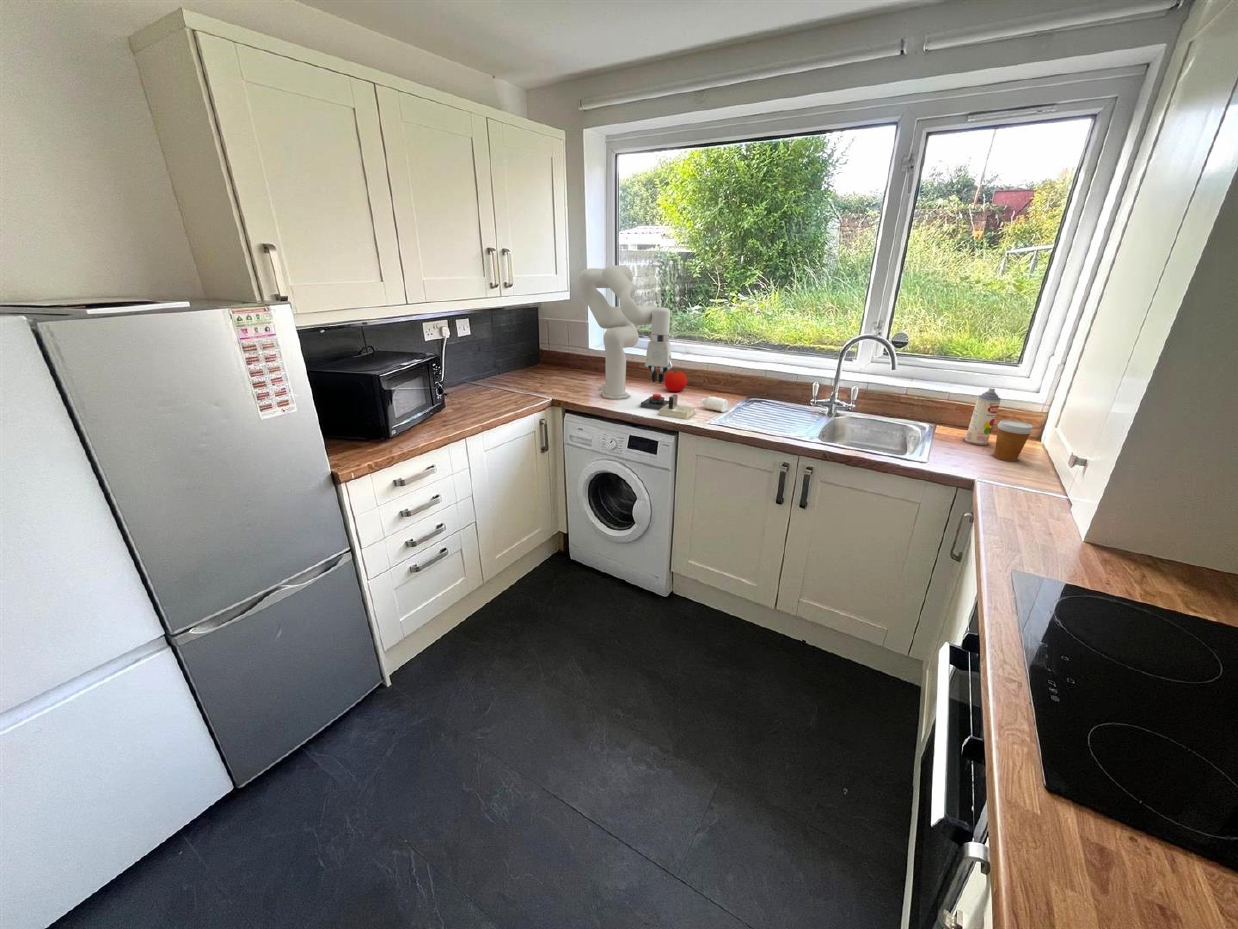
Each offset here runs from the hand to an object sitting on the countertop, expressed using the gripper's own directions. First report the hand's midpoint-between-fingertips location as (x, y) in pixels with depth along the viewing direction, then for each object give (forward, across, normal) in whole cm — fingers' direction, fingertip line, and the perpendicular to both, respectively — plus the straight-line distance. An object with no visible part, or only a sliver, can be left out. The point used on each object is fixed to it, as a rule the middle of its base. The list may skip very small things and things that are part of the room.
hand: (657, 381), depth 215 cm
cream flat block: (+11, +12, -7) cm, 18 cm away
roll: (+11, +23, +8) cm, 27 cm away
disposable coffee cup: (+11, +127, -3) cm, 128 cm away
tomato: (+11, -3, +33) cm, 35 cm away
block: (+11, 0, 0) cm, 11 cm away
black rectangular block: (+9, +10, -7) cm, 15 cm away
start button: (+8, 0, 0) cm, 8 cm away
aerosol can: (+11, +121, +12) cm, 122 cm away
